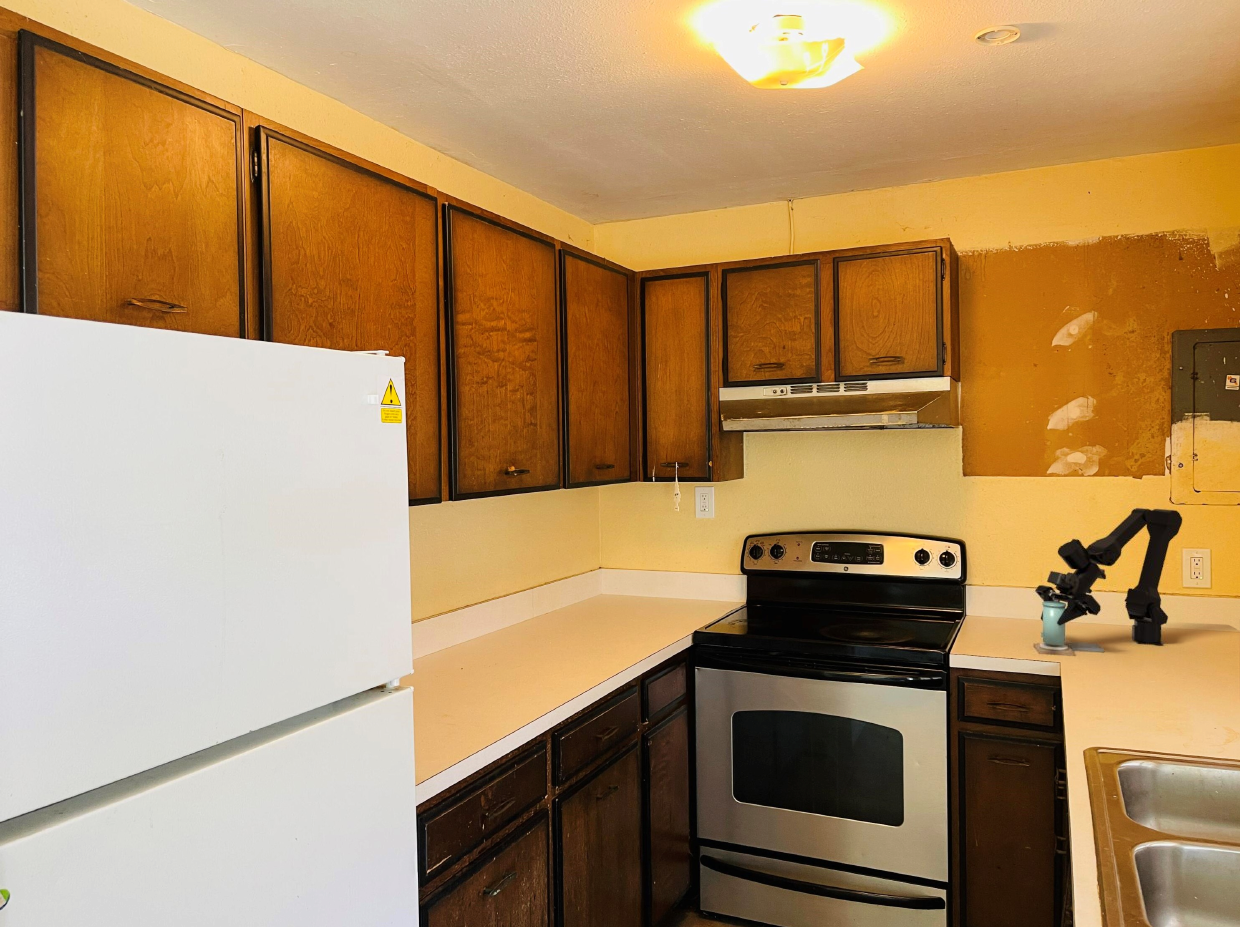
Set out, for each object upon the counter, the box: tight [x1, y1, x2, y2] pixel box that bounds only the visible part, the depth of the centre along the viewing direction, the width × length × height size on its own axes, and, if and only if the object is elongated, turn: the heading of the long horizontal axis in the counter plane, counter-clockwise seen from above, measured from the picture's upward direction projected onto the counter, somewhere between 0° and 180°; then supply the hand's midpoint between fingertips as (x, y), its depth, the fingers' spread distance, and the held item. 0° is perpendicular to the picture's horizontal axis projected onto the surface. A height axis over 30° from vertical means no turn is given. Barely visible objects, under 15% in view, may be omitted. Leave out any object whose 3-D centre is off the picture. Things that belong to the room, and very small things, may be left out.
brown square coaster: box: [1033, 642, 1076, 657], centre depth 248 cm, size 9×9×2 cm
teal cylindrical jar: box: [1040, 601, 1067, 645], centre depth 248 cm, size 6×6×11 cm
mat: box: [1065, 641, 1105, 653], centre depth 252 cm, size 8×8×1 cm
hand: (1049, 622), depth 248 cm, fingers closed on teal cylindrical jar, 6 cm apart
